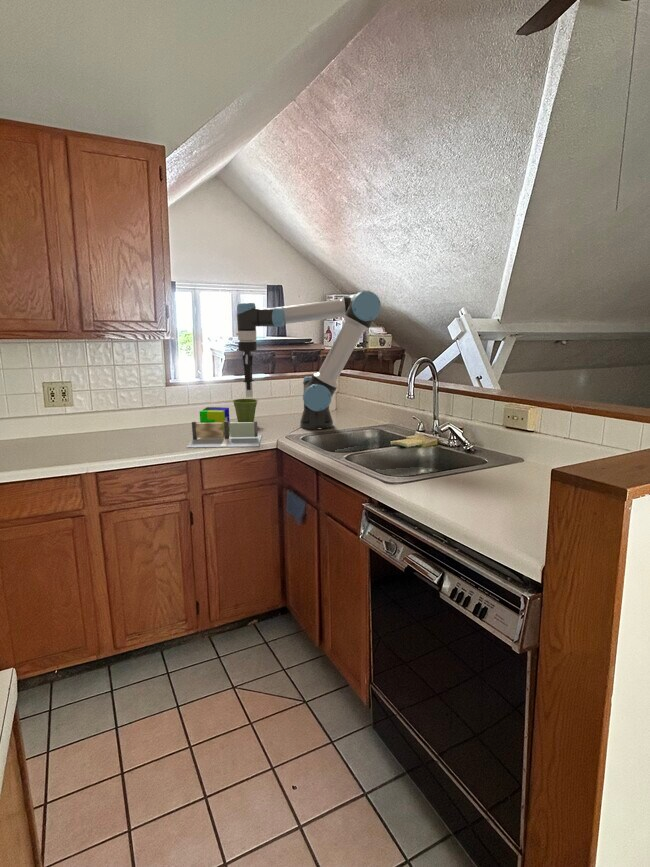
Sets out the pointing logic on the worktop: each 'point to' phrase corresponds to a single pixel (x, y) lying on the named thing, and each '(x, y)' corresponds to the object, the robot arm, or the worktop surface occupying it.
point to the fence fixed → (210, 430)
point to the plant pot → (245, 409)
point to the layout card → (225, 442)
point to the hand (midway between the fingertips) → (249, 397)
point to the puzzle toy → (215, 415)
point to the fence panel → (243, 429)
